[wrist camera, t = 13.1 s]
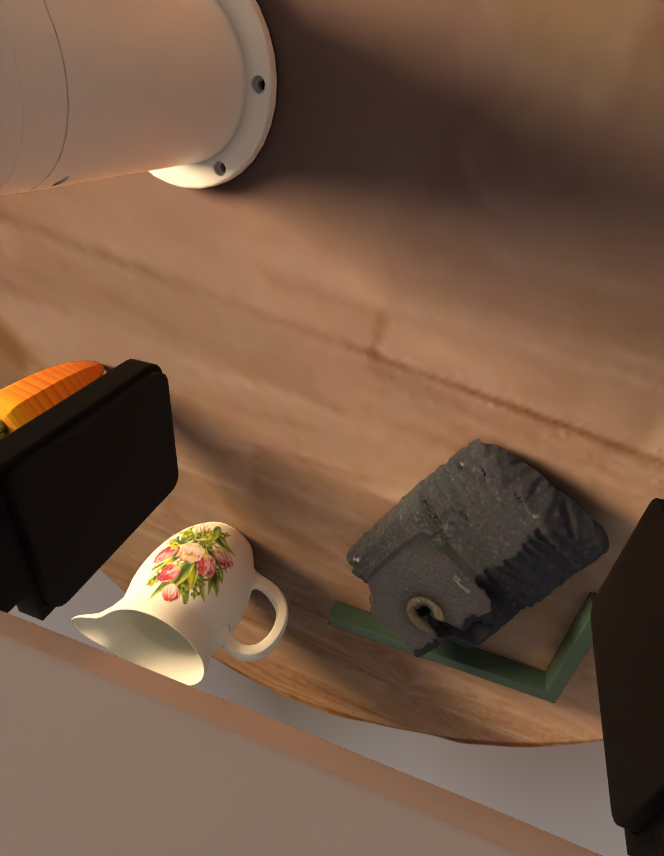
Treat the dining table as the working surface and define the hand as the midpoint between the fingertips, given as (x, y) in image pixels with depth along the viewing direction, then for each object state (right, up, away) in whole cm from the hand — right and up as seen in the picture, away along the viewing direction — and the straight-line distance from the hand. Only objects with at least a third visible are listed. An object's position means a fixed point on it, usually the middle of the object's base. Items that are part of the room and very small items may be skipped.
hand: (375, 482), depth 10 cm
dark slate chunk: (+11, -10, +35) cm, 38 cm away
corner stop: (+11, -16, +39) cm, 43 cm away
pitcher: (-12, -12, +45) cm, 48 cm away
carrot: (-22, +7, +38) cm, 44 cm away
